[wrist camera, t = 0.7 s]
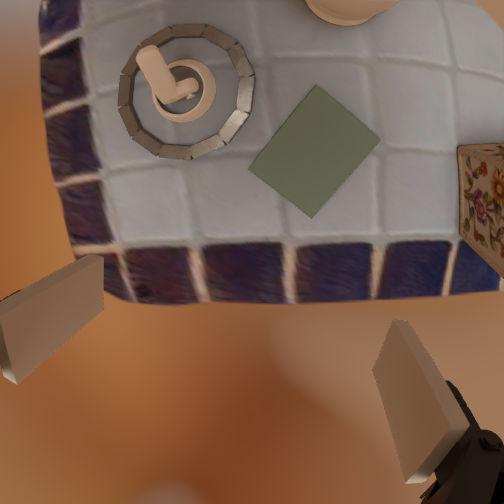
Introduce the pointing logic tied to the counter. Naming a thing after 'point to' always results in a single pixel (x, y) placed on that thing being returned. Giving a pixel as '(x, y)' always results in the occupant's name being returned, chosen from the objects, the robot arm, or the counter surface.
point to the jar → (348, 10)
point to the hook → (175, 83)
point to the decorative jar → (483, 201)
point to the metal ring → (232, 123)
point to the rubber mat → (314, 152)
